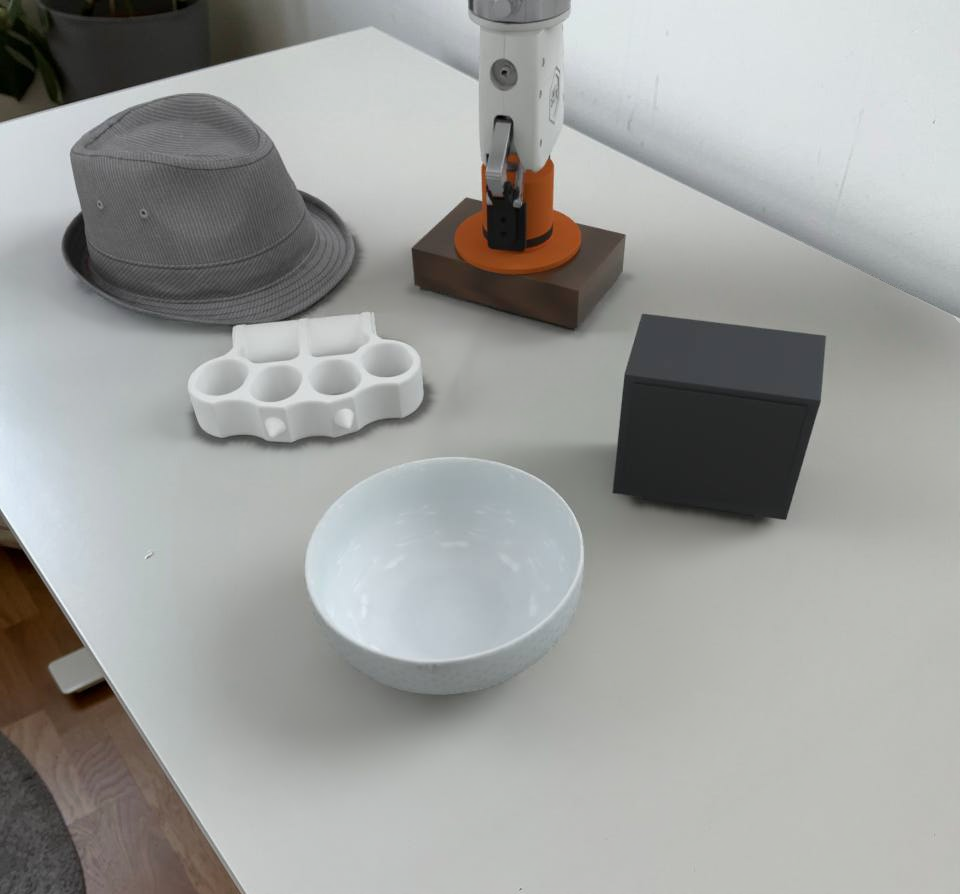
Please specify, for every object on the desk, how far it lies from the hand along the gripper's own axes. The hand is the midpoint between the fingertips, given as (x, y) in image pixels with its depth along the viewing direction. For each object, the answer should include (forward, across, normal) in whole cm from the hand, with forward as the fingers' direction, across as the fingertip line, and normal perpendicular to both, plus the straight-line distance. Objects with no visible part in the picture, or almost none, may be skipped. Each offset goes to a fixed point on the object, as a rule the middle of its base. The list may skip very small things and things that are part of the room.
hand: (519, 222), depth 84 cm
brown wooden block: (+6, 0, 0) cm, 6 cm away
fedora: (+6, -2, +30) cm, 30 cm away
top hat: (+2, 0, 0) cm, 2 cm away
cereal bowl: (+6, -40, -5) cm, 41 cm away
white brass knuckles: (+6, -20, +13) cm, 24 cm away
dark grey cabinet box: (+6, -23, -19) cm, 31 cm away
